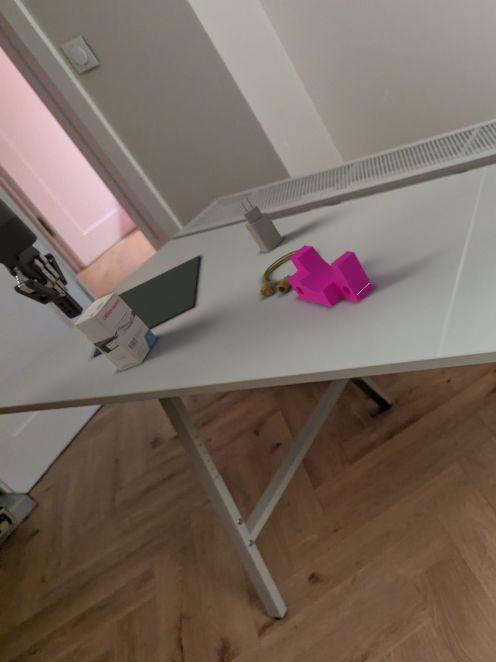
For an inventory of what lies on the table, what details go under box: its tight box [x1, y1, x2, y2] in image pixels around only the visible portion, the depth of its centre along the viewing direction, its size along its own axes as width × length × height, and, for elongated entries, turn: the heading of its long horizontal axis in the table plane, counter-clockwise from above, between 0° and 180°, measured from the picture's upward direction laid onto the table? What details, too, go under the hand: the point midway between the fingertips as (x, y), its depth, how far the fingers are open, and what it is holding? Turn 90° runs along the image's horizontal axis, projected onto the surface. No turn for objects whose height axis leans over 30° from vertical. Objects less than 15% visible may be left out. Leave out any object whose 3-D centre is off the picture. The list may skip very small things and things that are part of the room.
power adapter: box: [240, 197, 284, 253], centre depth 121 cm, size 3×5×12 cm, turn 158°
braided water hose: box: [260, 249, 299, 298], centre depth 109 cm, size 12×16×2 cm
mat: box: [93, 255, 201, 358], centre depth 123 cm, size 30×22×1 cm
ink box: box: [73, 292, 158, 371], centre depth 101 cm, size 8×5×12 cm, turn 6°
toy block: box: [288, 244, 374, 307], centre depth 93 cm, size 15×6×8 cm, turn 51°
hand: (77, 314), depth 90 cm, fingers closed
